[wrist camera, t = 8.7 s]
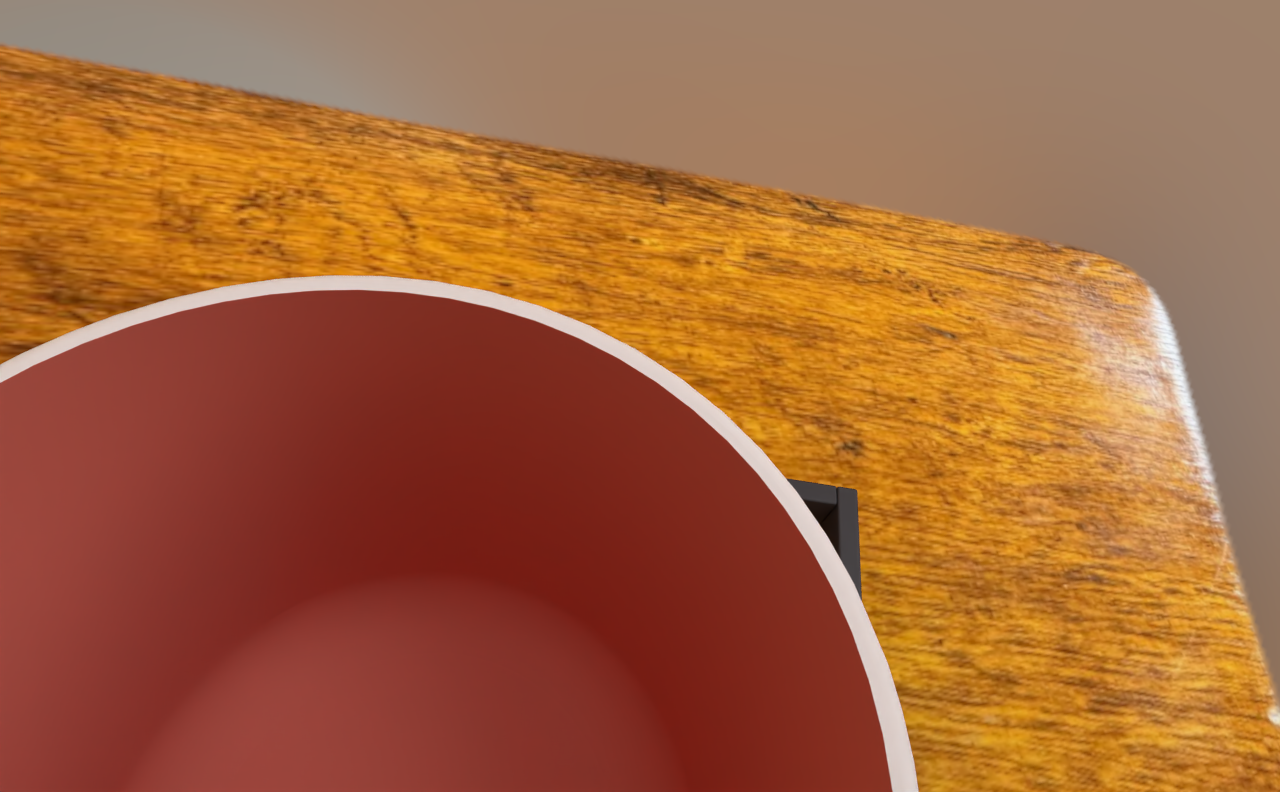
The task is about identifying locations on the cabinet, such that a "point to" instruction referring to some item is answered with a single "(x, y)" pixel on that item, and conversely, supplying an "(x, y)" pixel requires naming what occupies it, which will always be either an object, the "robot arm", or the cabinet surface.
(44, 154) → the cabinet surface
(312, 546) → the cup
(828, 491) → the square frame
